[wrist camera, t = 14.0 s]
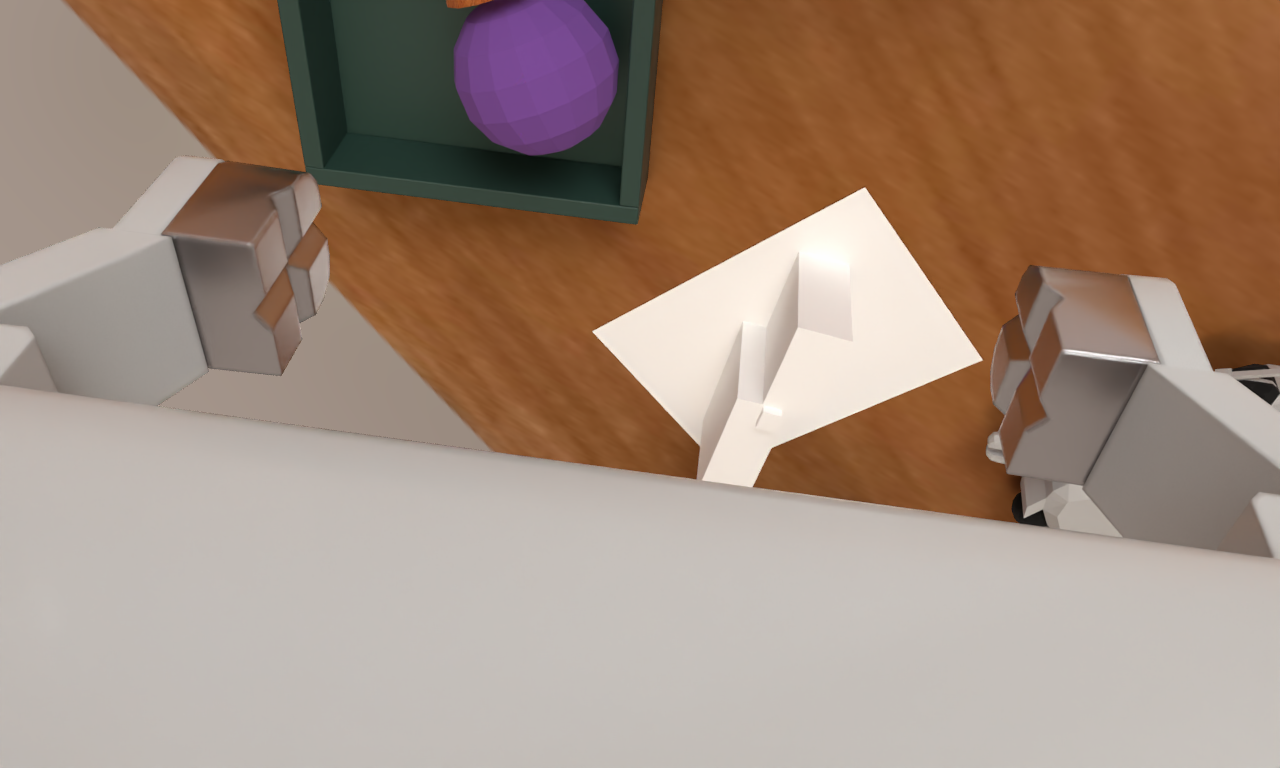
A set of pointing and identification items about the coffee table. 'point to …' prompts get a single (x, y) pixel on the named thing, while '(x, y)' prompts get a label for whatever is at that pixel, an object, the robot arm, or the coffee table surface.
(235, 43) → the coffee table surface
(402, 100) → the tray
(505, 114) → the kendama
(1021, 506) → the robot toy
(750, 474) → the napkin holder
